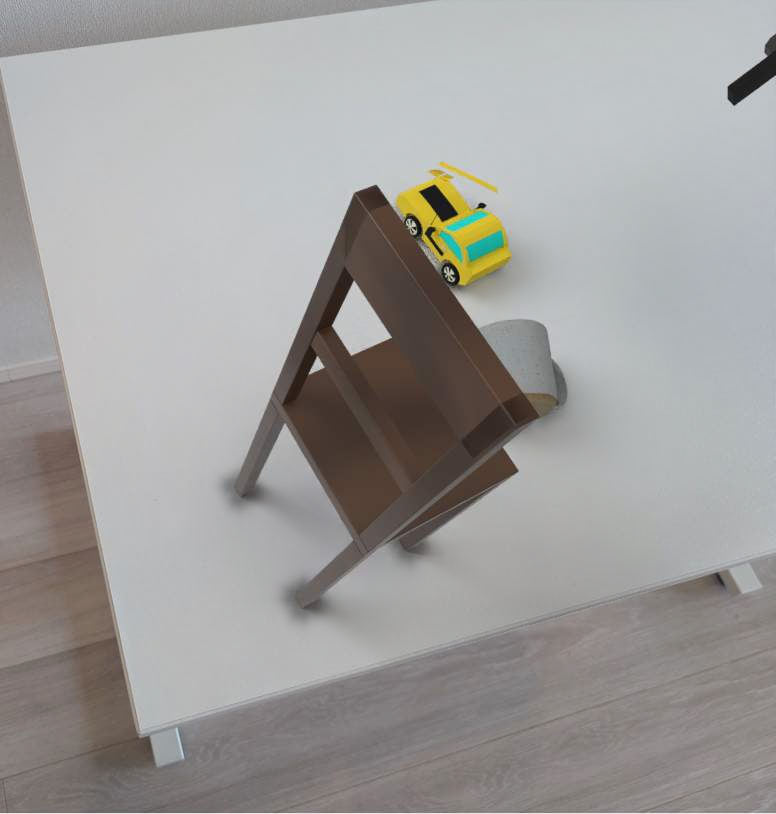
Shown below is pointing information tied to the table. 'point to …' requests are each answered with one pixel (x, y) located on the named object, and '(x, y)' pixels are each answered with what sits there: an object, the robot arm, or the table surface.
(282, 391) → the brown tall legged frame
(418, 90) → the table surface
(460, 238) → the toy car
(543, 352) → the ceramic mug
